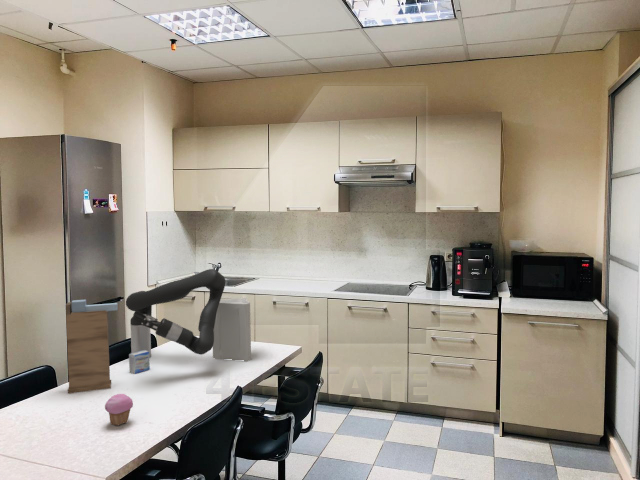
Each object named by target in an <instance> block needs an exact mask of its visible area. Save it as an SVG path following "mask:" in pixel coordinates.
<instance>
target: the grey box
mask: <svg viewBox="0 0 640 480" xmlns="http://www.w3.org/2000/svg"><path fill="white" fill-rule="evenodd" d="M251 330H252V329H251V302H250V301H249V300H247V299H246V298H245V297H243V298H242V297H238V298H237V297H236V298H230V299H221V300H220V303H219V306H218V309H217V313H216V319H215V325H214V344H213V347H212V358H215V360H224V359H232V360H231V361H235V360H244V361H243V362H249V361H250V360H252V343H251V342H252V341H251V340H252V338H251V337H252V335H251ZM249 359H250V360H249ZM248 360H249V361H248Z"/></svg>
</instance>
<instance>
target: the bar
mask: <svg viewBox="0 0 640 480" xmlns="http://www.w3.org/2000/svg"><path fill="white" fill-rule="evenodd" d="M71 302H72V313H76V312H90V311H104V310H106V311H107V312H111V311H118V309H119V308H118V302H115V303H102V304H100V303H99V304H96V303H95V304H87V299H76V300H73V299H72V301H71Z"/></svg>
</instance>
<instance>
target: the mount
mask: <svg viewBox="0 0 640 480" xmlns="http://www.w3.org/2000/svg"><path fill="white" fill-rule="evenodd" d="M108 312H109V311H106V310H104V311H90V312H76V313H72V301H70V302H68V301H67V303H65V320H66V324H65V325H66V327H65V328H66V345H67V369H68V370H67V371H68V372H67V374H68V387H67V394H68V395H69V394H77V393H83V392H84V393H85V392H92V391H99V390H107V389H112V379H111V374H110V373H111V372H110V349H109V346H110V344H109V342H110V341H109V316H108Z"/></svg>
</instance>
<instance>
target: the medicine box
mask: <svg viewBox="0 0 640 480" xmlns="http://www.w3.org/2000/svg"><path fill="white" fill-rule="evenodd" d="M150 364H151V362H150V358H149V351H146V350H143V351H139V352H135V353H129V354H128V365H129V367H128V368H129V370H128V371H129V373H131V374H134V375H136V374H139V373H142V372H146V371H150V369H151V365H150Z"/></svg>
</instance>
